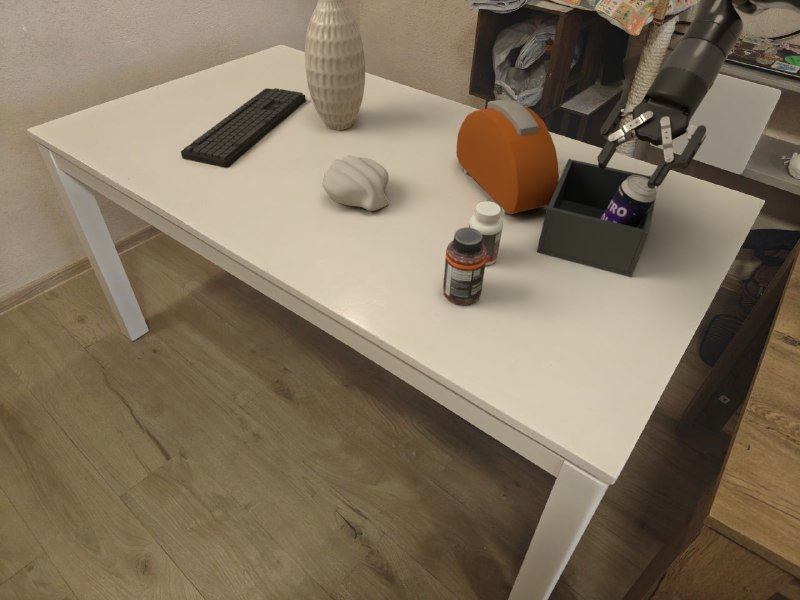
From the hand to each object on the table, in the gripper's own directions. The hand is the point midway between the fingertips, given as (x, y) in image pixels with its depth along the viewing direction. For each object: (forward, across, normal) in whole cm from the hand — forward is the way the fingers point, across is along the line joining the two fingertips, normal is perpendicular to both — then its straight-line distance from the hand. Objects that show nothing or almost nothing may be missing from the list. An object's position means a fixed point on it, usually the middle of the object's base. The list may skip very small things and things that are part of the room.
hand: (624, 176), depth 83 cm
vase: (+10, -67, +10) cm, 69 cm away
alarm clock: (+7, -24, +13) cm, 28 cm away
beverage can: (+8, 0, +11) cm, 13 cm away
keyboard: (+21, -80, -1) cm, 83 cm away
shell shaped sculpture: (+23, -41, -3) cm, 47 cm away
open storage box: (+8, -3, +12) cm, 15 cm away
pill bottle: (+21, -14, -1) cm, 25 cm away
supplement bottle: (+28, -10, -7) cm, 31 cm away
